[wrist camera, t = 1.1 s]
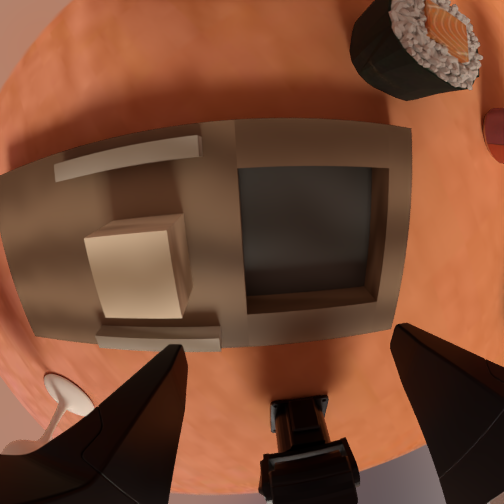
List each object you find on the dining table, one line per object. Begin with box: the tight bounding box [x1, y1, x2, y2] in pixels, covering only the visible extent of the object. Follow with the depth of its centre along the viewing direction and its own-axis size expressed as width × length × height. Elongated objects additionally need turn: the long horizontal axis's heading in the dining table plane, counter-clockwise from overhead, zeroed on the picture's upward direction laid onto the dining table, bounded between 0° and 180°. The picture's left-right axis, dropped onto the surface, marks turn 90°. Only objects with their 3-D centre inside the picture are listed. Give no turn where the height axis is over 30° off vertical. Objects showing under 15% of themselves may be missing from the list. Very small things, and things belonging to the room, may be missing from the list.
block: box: [84, 213, 193, 319], centre depth 15 cm, size 5×5×4 cm
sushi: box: [350, 0, 483, 101], centre depth 12 cm, size 8×8×8 cm
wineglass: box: [1, 374, 95, 455], centre depth 17 cm, size 9×9×21 cm
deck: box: [0, 118, 412, 352], centre depth 18 cm, size 16×34×4 cm, turn 93°
